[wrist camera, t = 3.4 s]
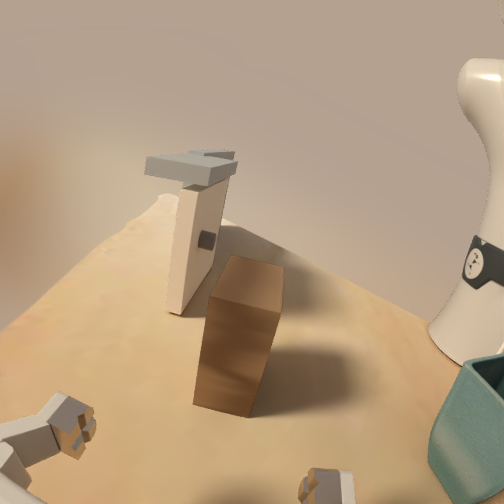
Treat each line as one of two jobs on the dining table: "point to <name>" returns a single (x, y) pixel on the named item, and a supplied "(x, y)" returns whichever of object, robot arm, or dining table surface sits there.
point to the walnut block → (238, 335)
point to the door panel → (194, 241)
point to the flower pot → (471, 433)
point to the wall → (193, 167)
